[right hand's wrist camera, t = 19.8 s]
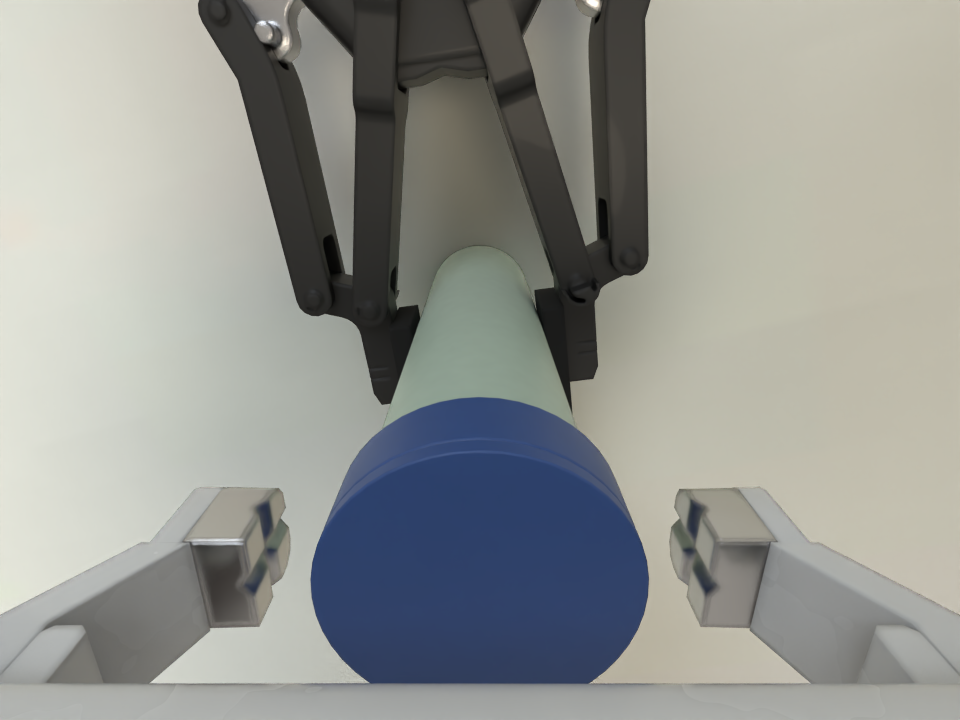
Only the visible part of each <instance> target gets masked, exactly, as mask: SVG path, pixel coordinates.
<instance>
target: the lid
mask: <svg viewBox="0 0 960 720" xmlns="http://www.w3.org/2000/svg"><path fill="white" fill-rule="evenodd" d="M648 585H649V575H648V567H647V560H646V556H645V553H644V549H643V546H642V543H641V540H640V538H639V535H638V533H637V531H636V529H635V526H634V523H633V521H632V518H631V516H630V513H629V511H628V509H627V506H626V504H625V501H624V499H623V496H622V494H621V491H620V489H619V487H618V484H617V482H616V479H615V477H614V475H613V473H612V471H611V469H610V467H609V465H608V463H607V462H606V460H605V459H604V457H603V456H602V454H601V453H600V451H599V450H598V449H597V448H596V447H595V446H594V444H593V443H592V442H591V441H590V440H589V439H588V438H587V437H586V436H585V435H584V434H582V433H581V432H580V431H579V430H577V429H576V428H575V427H574V426H573V425H571V424H569V423H568V422H566V421H564V420H563V419H561V418H559V417H558V416H556V415H554V414H552V413H549V412H547V411H545V410H543V409H541V408H538V407H535V406H532V405H528V404H525V403H522V402H519V401H513V400H507V399H502V398H489V397H471V398H458V399H452V400H447V401H441V402H437V403H434V404H431V405H428V406H425V407H421V408H419V409H417V410H414V411H412V412H410V413H408V414H406V415H404V416H402V417H400V418H398V419H397V420H395V421H394V422H392V423H390V424H389V425H387V426H386V427H384V428H383V429H382V430H381V431H380V432H378V433H377V434H376V435H375V436H374V437H372V438H371V440H370V441H369V442H368V443H367V444H366V445H365V446H364V447H363V448H362V449H361V451H360V452H359V453H358V455H357V456H356V458H355V459H354V461H353V462H352V464H351V465H350V468H349V470H348V472H347V474H346V476H345V478H344V481H343V483H342V485H341V488H340V490H339V493H338V495H337V498H336V500H335V503H334V505H333V507H332V510H331V512H330V515H329V517H328V520H327V522H326V525H325V527H324V530H323V532H322V534H321V537H320V539H319V542H318V544H317V547H316V551H315V555H314V558H313V562H312V571H311V594H312V601H313V605H314V609H315V613H316V616H317V619H318V621H319V624H320V626H321V629H322V631H323V633H324V634H325V636H326V638H327V639H328V641H329V643H330V644H331V646H332V647H333V649H334V650H335V651H336V652H337V654H338V655H339V656H340V657H341V659H342V660H343V661H344V662H345V663H346V664H347V665H349V666H350V667H351V668H352V669H353V670H354V671H355V672H356V673H357V674H359V675H360V676H361V677H363V678H364V679H365V680H367V681H368V682H369V683H488V684H589V683H590V682H592V681H593V680H594V679H596V678H597V677H598V676H599V675H601V674H602V673H603V672H605V671H606V670H607V669H608V668H609V667H610V666H611V665H612V664H613V663H614V662H615V661H616V660H617V659H618V658H619V657H620V655H621V654H622V653H623V652H624V650H625V649H626V648H627V647H628V645H629V644H630V642H631V640H632V639H633V637H634V635H635V633H636V632H637V630H638V628H639V625H640V623H641V620H642V617H643V615H644V611H645V607H646V602H647V598H648Z"/></svg>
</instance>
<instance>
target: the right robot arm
mask: <svg viewBox="0 0 960 720" xmlns="http://www.w3.org/2000/svg"><path fill="white" fill-rule="evenodd" d="M285 508H286V506H285V501H284V496H283V492H282V491H281V490H280V489H279V488H242V487H227V488H225V487H200V488H197V489H195V490H194V491H193V492H192V493H191V494H190V495H189V497H188V498H187V499H186V500H185V501H184V503H183V504H182V505H181V506H180V507H179V508H178V510H177V511H176V512H175V513H174V514H173V516H172V517H171V518H170V519H169V520H168V521H167V523H166V524H165V525H164V526H163V527H162V529H161V530H160V531H159V532H158V533H157V535H156V536H155V537H154V538H153V539H152V540H151V542H145V543H139V544H137V545H135V546H133V547H131V548H130V549H128V550H126V551H124V552H122V553H120V554H118V555H116V556H114V557H112V558H110V559H108V560H106V561H104V562H102V563H100V564H98V565H96V566H94V567H93V568H91V569H89V570H87V571H85V572H83V573H81V574H79V575H77V576H75V577H73V578H71V579H69V580H67V581H65V582H63V583H61V584H59V585H57V586H55V587H54V588H52V589H50V590H48V591H46V592H44V593H42V594H40V595H38V596H36V597H34V598H32V599H30V600H28V601H26V602H24V603H22V604H20V605H18V606H17V607H15V608H13V609H11V610H9V611H7V612H5V613H3V614H1V615H0V720H960V615H959V614H957V613H955V612H953V611H951V610H949V609H947V608H945V607H943V606H941V605H939V604H937V603H935V602H933V601H931V600H930V599H928V598H926V597H924V596H922V595H920V594H918V593H916V592H914V591H912V590H910V589H908V588H906V587H904V586H902V585H900V584H898V583H896V582H895V581H893V580H891V579H889V578H887V577H885V576H883V575H881V574H879V573H877V572H875V571H873V570H871V569H869V568H867V567H865V566H863V565H862V564H860V563H858V562H856V561H854V560H852V559H850V558H848V557H846V556H844V555H842V554H840V553H838V552H836V551H834V550H832V549H830V548H829V547H827V546H825V545H823V544H821V543H815V542H809V540H808V539H807V538H806V537H805V536H804V535H803V533H802V532H801V531H800V530H799V529H798V527H797V526H796V525H795V524H794V523H793V522H792V520H791V519H790V518H789V517H788V516H787V514H786V513H785V512H784V511H783V510H782V509H781V507H780V506H779V505H778V504H777V503H776V501H775V500H774V499H773V498H772V497H771V496H770V494H769V493H768V492H767V491H766V490H765V489H763V488H761V487H736V488H710V489H679V491H678V493H677V495H676V500H675V506H674V508H675V510H676V512H677V514H678V516H679V517H680V519H679V520H678V521H677V522H676V523H675V524H674V525H673V526H672V527H671V533H670V541H669V543H670V556H671V560H672V564H673V568H674V570H675V572H676V574H677V577H678V578H679V579H680V580H681V581H683V582H684V583H685V584H687V585H688V592H687V599H688V601H689V603H690V605H691V607H692V609H693V611H694V613H695V616H696V618H697V620H698V622H699V624H700V626H701V627H732V628H750V631H751V632H752V633H753V634H755V635H756V636H757V637H758V638H759V639H760V640H762V641H763V642H764V643H765V644H766V645H767V646H768V647H770V648H771V649H772V650H773V651H774V652H775V653H777V654H778V655H779V656H780V657H781V658H782V659H784V660H785V661H786V662H787V663H788V664H789V665H790V666H792V667H793V668H794V669H795V670H796V671H797V672H799V673H800V674H801V675H802V676H803V677H804V678H805V679H807V680H808V681H809V682H810V683H811V684H488V683H277V684H157V683H150V682H151V681H152V680H154V679H155V678H156V677H157V676H158V675H159V674H160V673H162V672H163V671H164V670H165V669H166V668H167V667H169V666H170V665H171V664H172V663H173V662H174V661H176V660H177V659H178V658H179V657H180V656H181V655H182V654H184V653H185V652H186V651H187V650H188V649H189V648H191V647H192V646H193V645H194V644H195V643H196V642H198V641H199V640H200V639H201V638H202V637H203V636H204V635H206V634H207V633H208V632H209V631H210V628H228V627H259V626H260V624H261V622H262V620H263V618H264V616H265V614H266V611H267V609H268V607H269V605H270V603H271V601H272V599H273V592H272V585H273V584H275V583H276V582H277V581H279V580H280V579H281V578H282V577H283V574H284V572H285V570H286V567H287V564H288V559H289V554H290V532H289V527H288V526H287V525H286V524H285V523H284V522H283V521H282V520H281V519H280V517H281V516H282V514H283V512H284V510H285Z"/></svg>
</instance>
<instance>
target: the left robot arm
mask: <svg viewBox="0 0 960 720" xmlns="http://www.w3.org/2000/svg"><path fill="white" fill-rule="evenodd" d="M540 2H541V0H199V3H198V9H199V15H200V18H201V20H202V22H203V24H204V26H205V27H206V29H207V31H208V32H209V34H210V35H211V37H212V39H213V40H214V42H215V44H216V45H217V47H218V48H219V50H220V52H221V53H222V55H223V57H224V58H225V60H226V61H227V63H228V65H229V66H230V68H231V70H232V71H233V73H234V74H235V76H236V78H237V79H238V82H239V86H240V90H241V94H242V97H243V101H244V105H245V109H246V112H247V116H248V120H249V124H250V127H251V131H252V135H253V139H254V142H255V146H256V150H257V154H258V157H259V161H260V165H261V169H262V172H263V176H264V180H265V184H266V187H267V191H268V195H269V199H270V202H271V206H272V210H273V214H274V218H275V221H276V225H277V229H278V233H279V236H280V240H281V244H282V248H283V251H284V255H285V259H286V263H287V266H288V270H289V274H290V278H291V281H292V285H293V289H294V293H295V296H296V300H297V303H298V305H299V307H300V309H302V310H303V311H304V312H305V313H306V314H309V315H311V316H320V315H323V314H329V315H334V316H339V317H343V318H346V319H348V320H350V321H352V322H353V323H354V324H355V325H356V326H357V328H358V329H359V331H360V334H361V337H362V342H363V346H364V351H365V355H366V360H367V364H368V368H369V373H370V378H371V382H372V387H373V391H374V394H375V396H376V397H377V398H378V400H379V401H380V403H381V404H382V405H383V404H391V402H392V399H393V396H394V393H395V391H396V388H397V385H398V382H399V379H400V376H401V373H402V370H403V368H404V365H405V362H406V359H407V356H408V353H409V350H410V347H411V344H412V342H413V339H414V336H415V333H416V330H417V327H418V324H419V321H420V314H419V308H418V305H414V306H406V307H399V309H398V311H397V306H396V299H397V297H398V294H399V290H397V281H398V261H399V241H400V221H401V201H402V181H403V161H404V141H405V123H406V118H407V112H408V98H409V88H411V87H418V86H423V85H425V84H427V83H430V82H432V81H434V80H436V79H438V78H440V77H442V76H453V77H459V78H466V79H472V78H479V77H485V80H486V83H487V86H488V88H489V91H490V94H491V97H492V100H493V103H494V105H495V107H496V110H497V113H498V116H499V119H500V122H501V125H502V128H503V131H504V134H505V136H506V139H507V142H508V145H509V148H510V151H511V154H512V157H513V160H514V163H515V166H516V169H517V172H518V175H519V178H520V181H521V184H522V187H523V189H524V192H525V195H526V198H527V201H528V204H529V207H530V210H531V213H532V216H533V219H534V222H535V225H536V228H537V231H538V234H539V237H540V240H541V243H542V245H543V248H544V251H545V254H546V257H547V260H548V263H549V266H550V269H551V272H552V275H553V277H554V288H555V289H554V288H546V289H538V290H535V300H536V310H537V314H538V317H539V320H540V323H541V326H542V329H543V331H544V334H545V337H546V340H547V343H548V346H549V349H550V352H551V355H552V357H553V360H554V363H555V366H556V369H557V372H558V375H559V378H560V381H561V383H562V386H563V389H564V392H565V395H566V398H567V401H568V404H569V407H570V409H571V412H572V403H571V391H570V382H571V381H579V380H587V379H593V378H594V375H595V373H596V370H597V367H598V358H597V342H596V323H595V306H594V305H595V300H596V299H597V297H598V296H599V292H600V289H601V288H602V287H603V286H604V285H606V284H607V283H609V282H611V281H613V280H615V279H617V278H619V277H621V276H623V275H630V276H631V275H634V274H637V273H639V272H640V271H641V270H643V269H644V267H645V266H646V264H647V261H648V256H649V254H648V187H647V121H646V54H645V17H646V14H647V10H648V7H649V3H650V0H575V2H576V6H577V7H578V9H579V11H580V12H581V13H583V14H584V15H586V16H588V17H592V20H591V24H590V33H589V75H590V95H591V116H592V137H593V157H594V178H595V199H596V220H597V241H595V242H593V243H591V244H589V245H587V246H585V244H584V240H583V237H582V234H581V231H580V228H579V224H578V221H577V218H576V215H575V212H574V208H573V205H572V202H571V199H570V195H569V192H568V189H567V186H566V183H565V179H564V176H563V173H562V170H561V167H560V163H559V160H558V157H557V154H556V151H555V147H554V144H553V141H552V138H551V134H550V131H549V128H548V125H547V122H546V118H545V115H544V112H543V109H542V106H541V102H540V99H539V96H538V93H537V89H536V84H535V78H534V74H533V70H532V66H531V63H530V60H529V57H528V53H527V50H526V47H525V44H524V40H523V36H524V34H525V32H526V30H527V28H528V26H529V24H530V22H531V20H532V18H533V16H534V14H535V12H536V10H537V8H538V6H539V4H540ZM305 6H307V8H308V9H309V10H310V11H311V12H312V13H313V14H314V15H315V16H316V17H317V19H318V20H319V21H320V22H321V23H322V24H323V25H324V26H325V27H326V28H327V29H328V31H329V32H330V33H331V34H332V35H333V36H334V37H335V38H336V39H337V40H338V42H339V43H340V44H341V45H342V46H343V47H344V48H345V49H346V50H347V51H348V53H349V54H350V55H351V56H352V57H353V105H354V109H355V115H356V135H355V186H354V237H353V275H348V274H345V270H344V265H343V261H342V257H341V252H340V248H339V243H338V239H337V235H336V230H335V226H334V222H333V217H332V213H331V209H330V204H329V200H328V195H327V191H326V187H325V182H324V178H323V174H322V169H321V165H320V160H319V156H318V152H317V147H316V143H315V139H314V134H313V130H312V125H311V121H310V117H309V112H308V108H307V104H306V99H305V96H304V92H303V88H302V85H301V82H300V80H299V77H298V74H297V72H296V69H295V67H294V65H293V64H292V61H294V60H295V59H296V58H297V57H298V55H299V53H300V50H301V39H300V36H299V32H298V29H297V20H298V15H299V13H300V11H301V10H302V9H303V8H304V7H305Z"/></svg>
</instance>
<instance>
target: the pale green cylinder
mask: <svg viewBox="0 0 960 720" xmlns="http://www.w3.org/2000/svg"><path fill="white" fill-rule="evenodd" d="M471 397H489V398H502V399H507V400H513V401H519V402H522V403H525V404H528V405H532V406H535V407H538V408H541V409H543V410H545V411H547V412H549V413H552V414H554V415H556V416H558V417H559V418H561V419H563V420H564V421H566V422H568V423H569V424H571V425H573V426H574V427H575V428H576V429H577V427H576V424H575V421H574V418H573V415H572V412H571V409H570V407H569V404H568V401H567V398H566V395H565V392H564V389H563V386H562V383H561V381H560V378H559V375H558V372H557V369H556V366H555V363H554V360H553V357H552V355H551V352H550V349H549V346H548V343H547V340H546V337H545V334H544V331H543V329H542V326H541V323H540V320H539V317H538V314H537V311H536V308H535V305H534V303H533V300H532V297H531V294H530V291H529V288H528V285H527V282H526V279H525V277H524V274H523V272H522V270H521V268H520V267H519V265H518V264H517V263H516V262H515V260H514V259H513V258H511V257H510V256H509V255H508V254H506V253H505V252H503V251H501V250H499V249H496V248H493V247H489V246H471V247H466V248H463V249H461V250H459V251H457V252H455V253H453V254H452V255H451V256H449V257H448V258H447V259H446V260H445V261H444V262H443V263H442V265H441V266H440V268H439V269H438V271H437V273H436V275H435V278H434V281H433V284H432V287H431V290H430V293H429V296H428V298H427V301H426V304H425V307H424V310H423V313H422V316H421V319H420V321H419V324H418V327H417V330H416V333H415V336H414V339H413V342H412V344H411V347H410V350H409V353H408V356H407V359H406V362H405V365H404V368H403V370H402V373H401V376H400V379H399V382H398V385H397V388H396V391H395V393H394V396H393V399H392V402H391V405H390V408H389V411H388V414H387V417H386V419H385V422H384V425H383V428H384V427H386V426H387V425H389V424H390V423H392V422H394V421H395V420H397V419H398V418H400V417H402V416H404V415H406V414H408V413H410V412H412V411H414V410H417V409H419V408H421V407H425V406H428V405H431V404H434V403H437V402H441V401H447V400H452V399H458V398H471ZM383 428H382V429H383Z"/></svg>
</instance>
